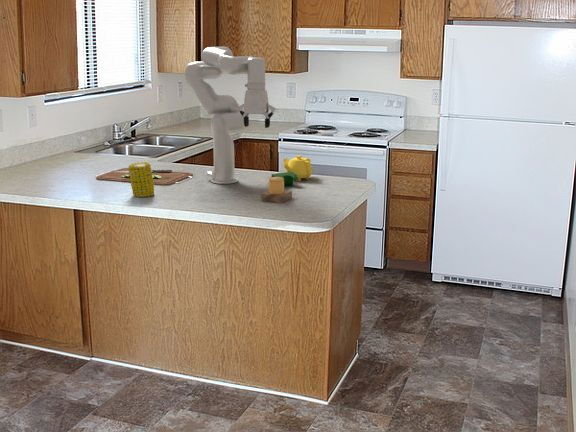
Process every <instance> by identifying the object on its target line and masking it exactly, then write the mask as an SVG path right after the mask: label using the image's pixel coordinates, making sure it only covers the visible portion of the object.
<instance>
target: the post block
mask: <svg viewBox="0 0 576 432" xmlns="http://www.w3.org/2000/svg"><path fill="white" fill-rule="evenodd" d="M292 198H293V191H292V190H286V189H284V193H282V194H271V193H269V189H268V190H265V191H264V192H262V193H260V202H270V203H277V204H278V203H280V204H284V203H286V202H288V201H289V200H291V199H292Z"/></svg>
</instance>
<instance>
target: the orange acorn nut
mask: <svg viewBox="0 0 576 432" xmlns="http://www.w3.org/2000/svg"><path fill="white" fill-rule="evenodd" d="M268 190H269V193H271V194H282V193H284V190H285V185H284V178H282V177H269V178H268Z"/></svg>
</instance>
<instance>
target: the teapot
mask: <svg viewBox="0 0 576 432" xmlns="http://www.w3.org/2000/svg"><path fill="white" fill-rule="evenodd" d="M283 162H284V163H283V164H282V166H283V167H284V168H285V172H294V173H295V174H296V175H298V180H296V181H297V182H301V181H302V179H304V180H310V176H312V174H313V169H312V164H311V162H312V161H311V159H310V158H308V157H303V156H302V155H296V157H292V158H291V159H290V160H289V159H288V158H287V157H286V158H284V159H283Z"/></svg>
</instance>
